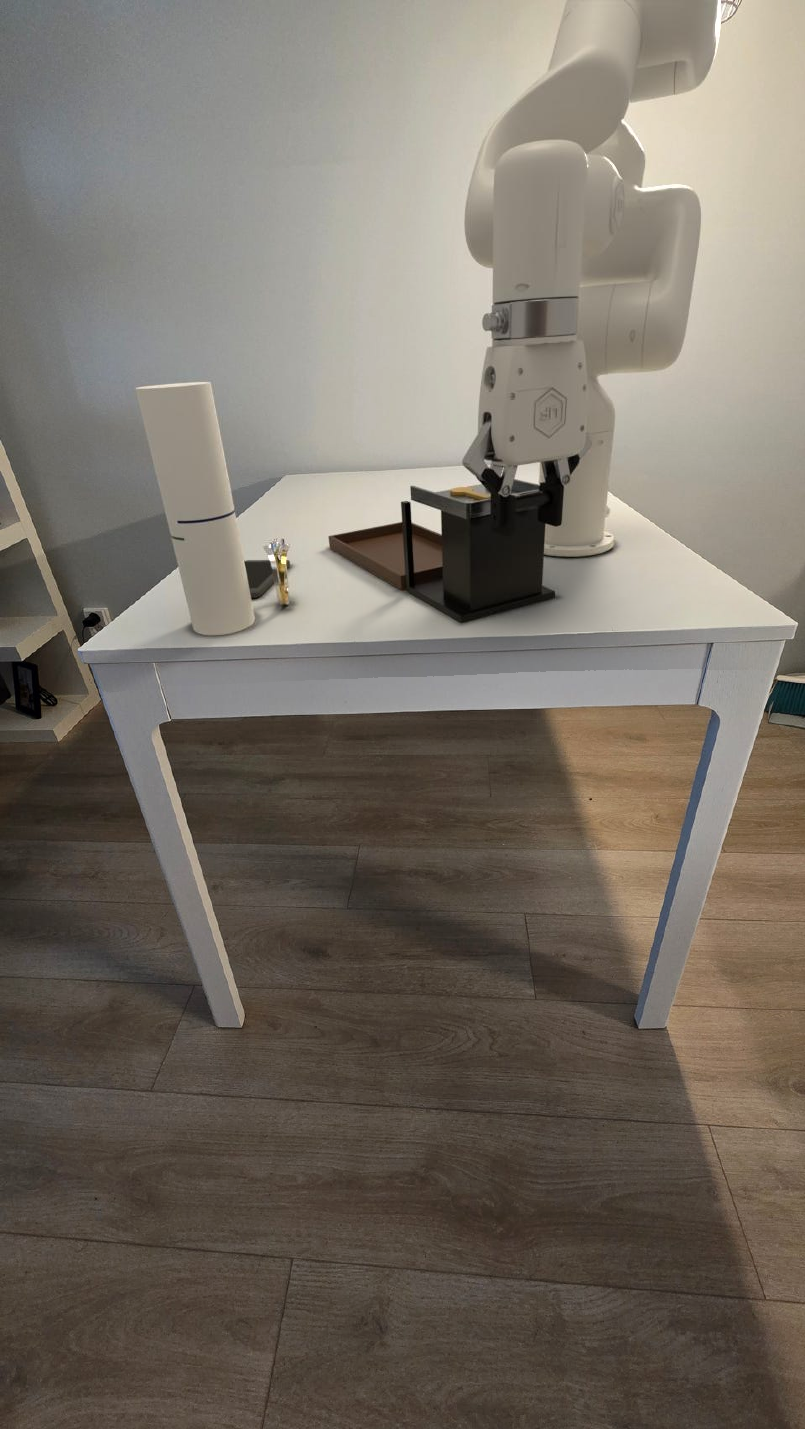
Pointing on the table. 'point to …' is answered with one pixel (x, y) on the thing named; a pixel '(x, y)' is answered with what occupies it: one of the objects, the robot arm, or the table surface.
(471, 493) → the yellow i-shaped piece
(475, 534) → the stand
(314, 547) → the table surface
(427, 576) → the tray
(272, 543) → the ring
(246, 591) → the cylindrical container
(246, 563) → the cell phone
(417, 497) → the dark tilted plate
